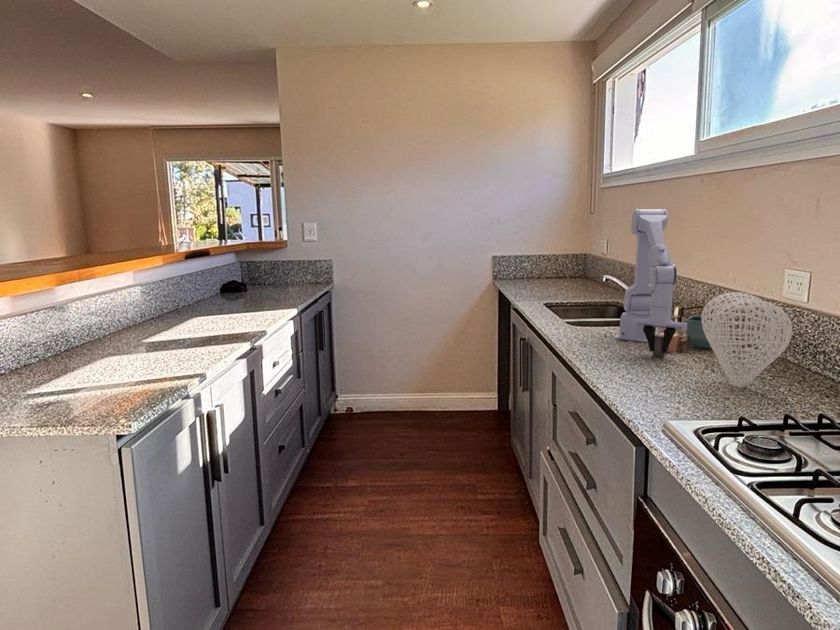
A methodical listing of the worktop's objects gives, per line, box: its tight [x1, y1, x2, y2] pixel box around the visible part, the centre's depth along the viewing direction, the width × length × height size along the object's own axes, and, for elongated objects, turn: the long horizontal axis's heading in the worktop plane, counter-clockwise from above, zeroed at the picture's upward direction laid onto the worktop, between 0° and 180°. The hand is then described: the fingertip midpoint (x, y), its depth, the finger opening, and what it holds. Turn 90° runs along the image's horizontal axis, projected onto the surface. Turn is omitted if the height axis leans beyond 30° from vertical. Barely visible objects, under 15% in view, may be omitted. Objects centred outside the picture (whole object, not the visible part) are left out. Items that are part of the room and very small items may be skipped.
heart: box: [701, 291, 793, 389], centre depth 135 cm, size 28×16×22 cm, turn 164°
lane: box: [655, 333, 691, 353], centre depth 179 cm, size 10×8×4 cm
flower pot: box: [685, 315, 720, 349], centre depth 181 cm, size 9×9×9 cm
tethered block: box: [652, 331, 680, 358], centre depth 173 cm, size 5×14×6 cm, turn 142°
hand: (658, 351), depth 168 cm, fingers closed on tethered block, 3 cm apart
